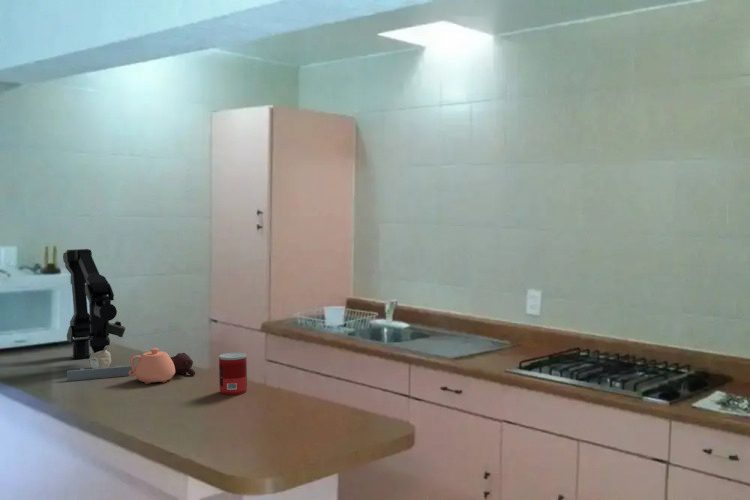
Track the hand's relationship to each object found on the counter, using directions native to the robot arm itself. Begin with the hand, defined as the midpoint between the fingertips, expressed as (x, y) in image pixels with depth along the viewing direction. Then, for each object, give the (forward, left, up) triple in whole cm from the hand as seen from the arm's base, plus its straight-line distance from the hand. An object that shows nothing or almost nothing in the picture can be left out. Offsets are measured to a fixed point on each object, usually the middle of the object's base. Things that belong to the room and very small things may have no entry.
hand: (99, 361), depth 251 cm
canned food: (+52, +36, -2) cm, 63 cm away
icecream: (+21, +25, -2) cm, 32 cm away
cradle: (+15, 0, -2) cm, 15 cm away
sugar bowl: (+28, +15, -2) cm, 32 cm away
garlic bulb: (+5, 0, -2) cm, 5 cm away
